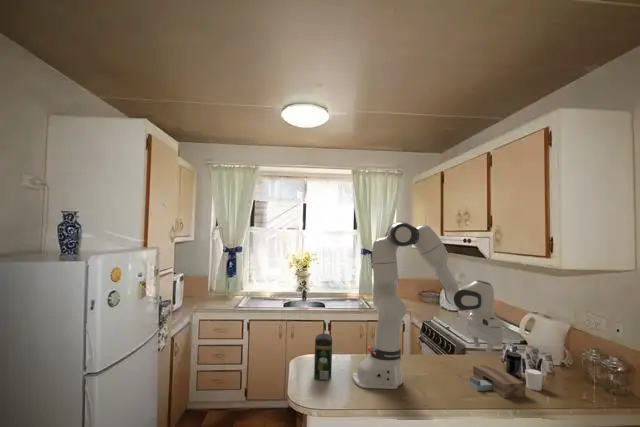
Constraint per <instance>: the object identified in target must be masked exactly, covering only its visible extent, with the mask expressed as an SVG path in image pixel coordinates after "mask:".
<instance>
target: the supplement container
mask: <svg viewBox="0 0 640 427" xmlns="http://www.w3.org/2000/svg"><path fill="white" fill-rule="evenodd" d="M522 360H523V357H522V354H521V353H518V352H514V351H507V352H505V372H506V373H508V374H510V375H511V376H513V377H515V378H517V379H519V380H521V378H522V373H523V372H522V370H523V369H522V367H523V366H522V364H523V363H522Z"/></svg>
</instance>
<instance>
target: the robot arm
mask: <svg viewBox="0 0 640 427" xmlns="http://www.w3.org/2000/svg"><path fill="white" fill-rule="evenodd" d="M412 245H413V246H414V247H415V248H416V249H417V251H418V253H419V254H420V257H421V258H422V259H423V261H424V262H425V263H426V264H427V265H428V267H430V269H431V270H432V271H433V272H434V273H435V276H437V279H438V280H439V282H440V283H441V285H442V288H443V291H444V298H445V300H446V301H447V303H448V304H450V305H452V306H454V307H456V308H458V309H459V310H462V311H470V310H471V312H470V313H468V315H467V318H466V322H465V332H466V333H467V334H469V335H470V336H472V340H473V344H474V347H475V348H480V346H481V344H480V342H479V340H481V341H483V342H485V343H486V344H487V347H485V352H486V353H488V354H492V350H493V348H494V347H498V346H499V347H501V346H502V345H503V340H504V339H503V338H504V336H503V334H504V332H503V329H502V327H503V325H504V324H503V321H502V320H501V319H500V318H498V317H497V316H496V314H495V310H494V304H495V290H494V287H493V285H492V284H491V283H490V282H487V281H485V280H479V279H476V280H474V281H473V282H471V283H469V284H467V285H464V286H463V285H461V284H460V283H458V282H457V281H456V279H455V278H454V276H453V274H452V272H451V271H450V269H449V268H448V259H449V253H448V251H447V248H446V246H445V244H444V243H443V241H442V240H441V239H440V237H439V235H437V233H436V232H435V231H434V230H433V229H432V227H430V226H429V225H425V224H423V225H419V226H417V227H415V226H413V225H411V224H409V223H408V222H405V221H396V222H394V223H392V224H391V225H390V226H389V227H388V229H387V231H386V233H385V235H384V237H380V238H377V239H376V240H374V241H373V244H372V252H371V253H372V254H371V257H372V258H371V260H372V262H371V263H372V271H373V272H372V273H373V290H372V291H373V292H372V293H373V294H372V297H373V298H372V303H373V306H374V309H375V310H376V311H377V312H378V320H377V324H376V327H375V329H374V330H375V334H374V346H373V347H371V345H370V346H369V345H368V346H367V348H366V349H367V351H368V352H369V353H370V355H369V356H368V357H366V358H365V359H363V360H362V361H361V362H359V363H358V366H357V371H356V372H353V373H352V376H351V377H352V378H351V379H352V381H353V382H354V383H355V384H356V385H357V386H358V387H360V388H363V389H390V390H391V389H392V390H395V389H398V388H399V386H400V385H402V384H403V381H404V380H403V376H402V371H401V357H402V353H401V352H402V350H401V332H402V331H401V330H402V325H403V321H404V317H406V316H405V315H406V312H407V308H406V305H405V303H404V300H403V299H402V298H401V297H400V296H398V293H397V289H398V288H397V286H398V281H399V270H398V259H397V250H398V248H400V247H402V248H403V247H408V246H412Z"/></svg>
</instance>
